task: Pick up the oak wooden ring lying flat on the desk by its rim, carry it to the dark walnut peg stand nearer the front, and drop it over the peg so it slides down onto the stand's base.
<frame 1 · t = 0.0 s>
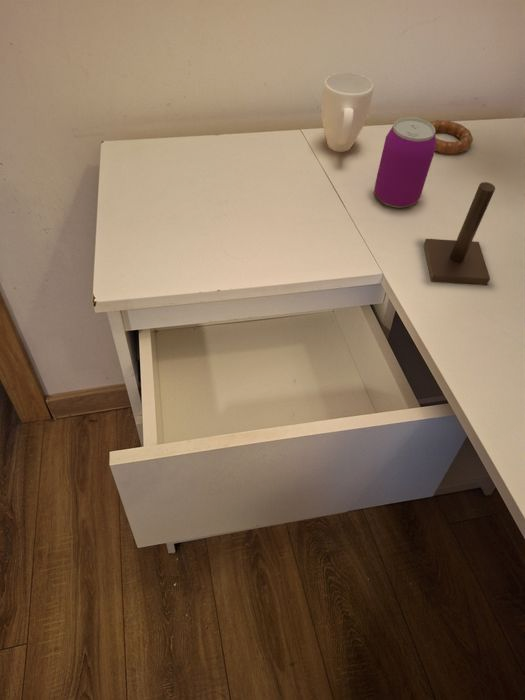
mug: (339, 152, 94), on the table
ring: (445, 136, 96), point 1 cm above the table
beverage can: (395, 197, 86), on the table
peg stand: (454, 264, 76), on the table
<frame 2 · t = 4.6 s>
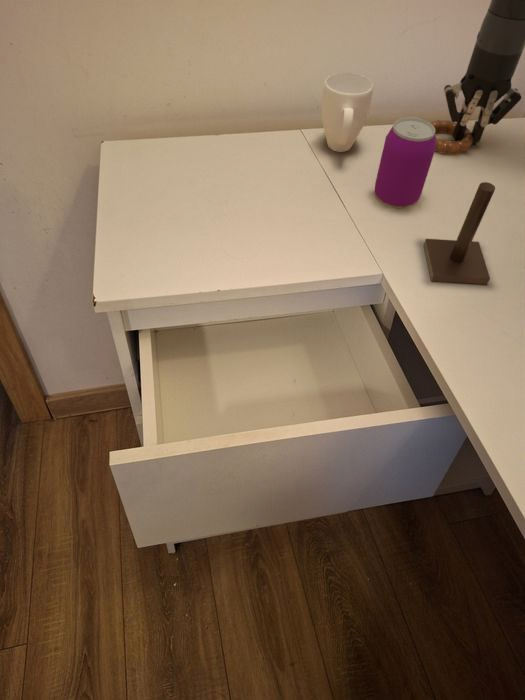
hand: (464, 142, 97), 0 cm above the table, tool pointing down, fingers closed on ring, 2 cm apart
ring: (446, 136, 96), point 1 cm above the table, touching gripper
everything else where it was.
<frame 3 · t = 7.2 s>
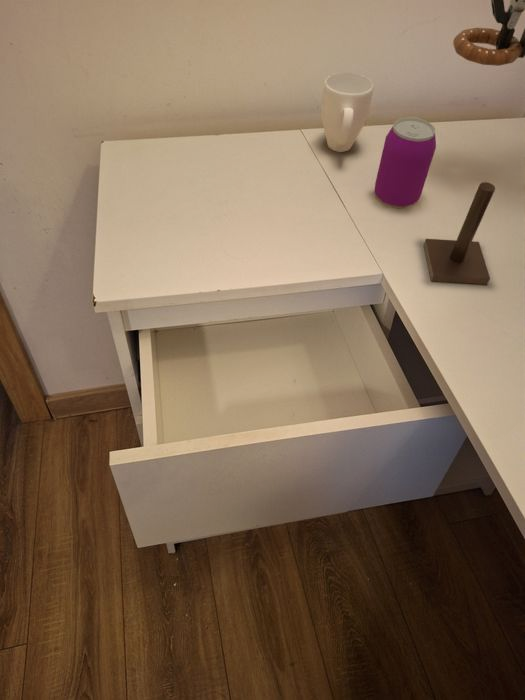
hand: (510, 54, 76), 19 cm above the table, tool pointing down, fingers closed on ring
ring: (487, 46, 76), point 20 cm above the table, touching gripper
everything else where it was.
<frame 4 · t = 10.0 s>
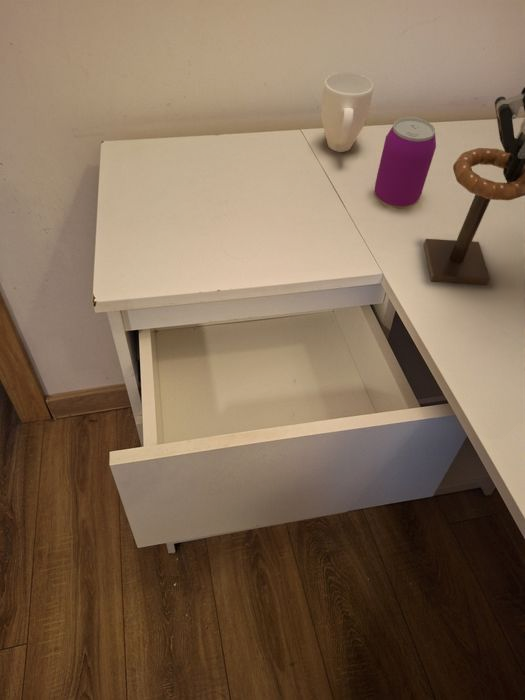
hand: (520, 181, 65), 14 cm above the table, tool pointing down, fingers closed on ring
ring: (493, 173, 64), point 15 cm above the table, touching gripper
everything else where it was.
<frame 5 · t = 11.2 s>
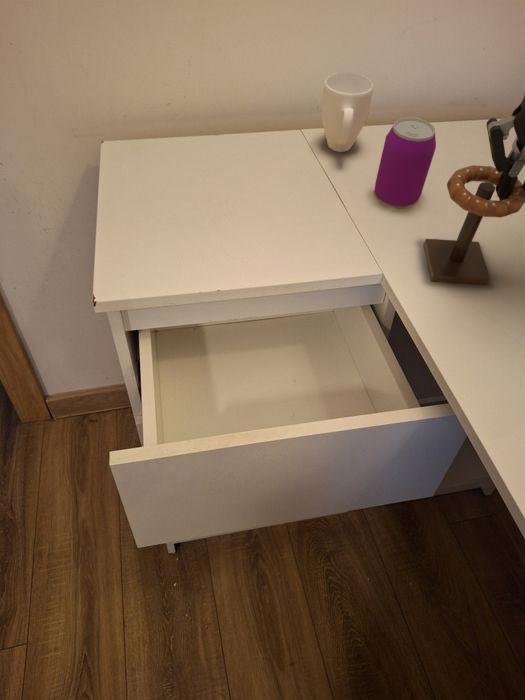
hand: (512, 198, 67), 12 cm above the table, tool pointing down, fingers closed on ring
ring: (486, 190, 66), point 13 cm above the table, touching gripper
everything else where it was.
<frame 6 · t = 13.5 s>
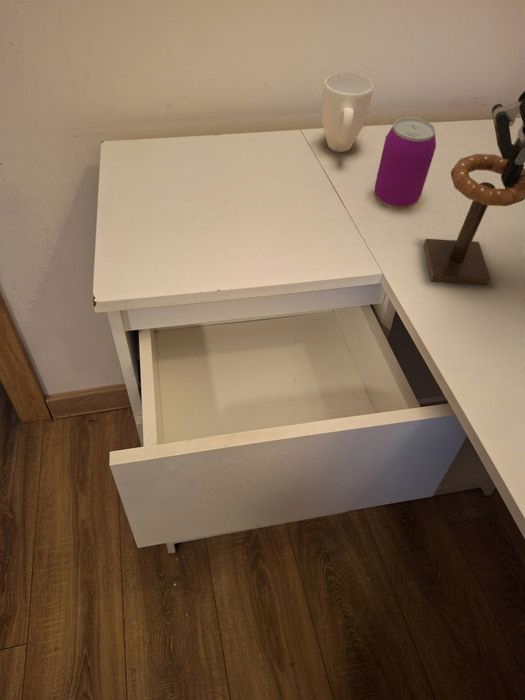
hand: (518, 186, 65), 13 cm above the table, tool pointing down, fingers closed on ring
ring: (490, 179, 65), point 14 cm above the table, touching gripper
everything else where it was.
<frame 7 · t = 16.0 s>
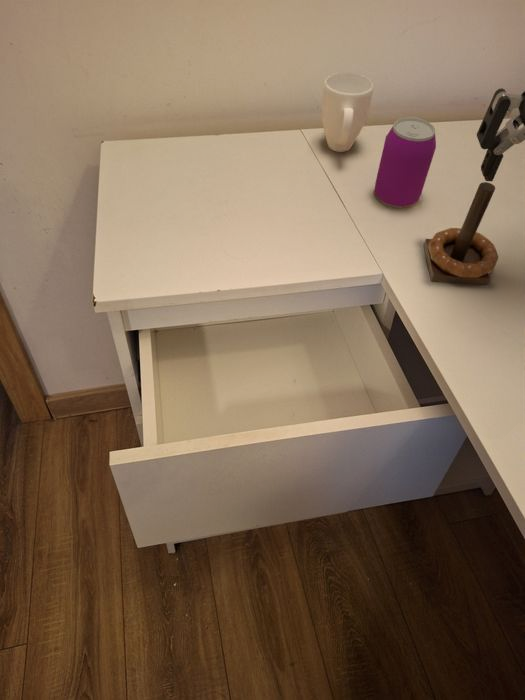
hand: (521, 179, 65), 14 cm above the table, tool pointing down, fingers open, 8 cm apart
ring: (462, 252, 74), point 2 cm above the table, touching peg stand
everything else where it was.
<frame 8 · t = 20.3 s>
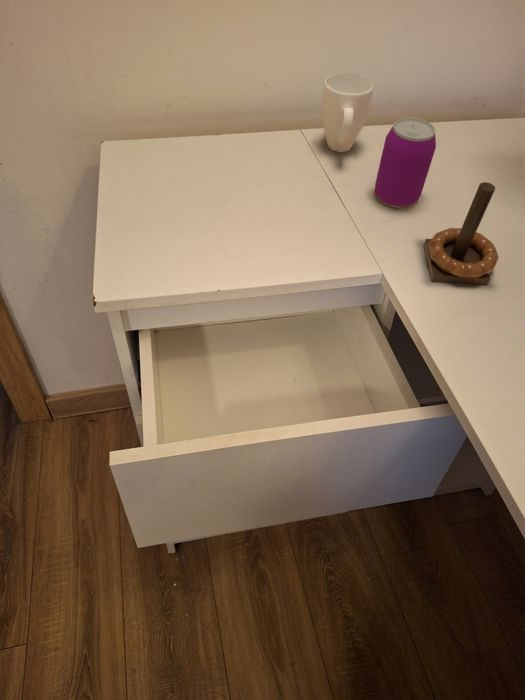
nothing on the table moved.
at the end: ring 0.6 cm off-centre on the peg stand, point 2.2 cm above the peg stand's base; the gripper is holding nothing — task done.
